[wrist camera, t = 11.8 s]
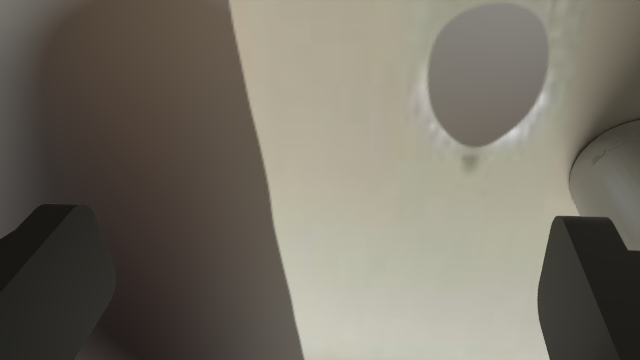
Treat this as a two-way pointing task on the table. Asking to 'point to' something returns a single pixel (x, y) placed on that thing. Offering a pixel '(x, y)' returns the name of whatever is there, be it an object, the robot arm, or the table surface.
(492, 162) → the table surface
